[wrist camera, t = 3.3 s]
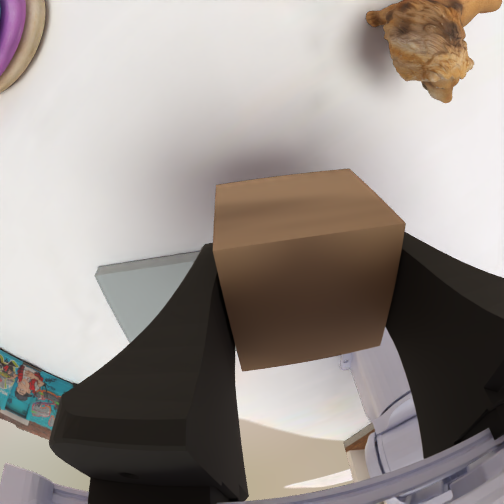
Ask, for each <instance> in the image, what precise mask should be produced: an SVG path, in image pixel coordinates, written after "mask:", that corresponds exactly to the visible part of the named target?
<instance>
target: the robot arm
mask: <svg viewBox="0 0 504 504" xmlns="http://www.w3.org/2000/svg"><path fill="white" fill-rule="evenodd" d="M345 360H347V361H345ZM340 369H341V370H346V369H350V370H351V372H352V375H353V378H354V381H355V384H356V387H357V390H358V393H359V396H360V399H361V402H362V405H363V408H364V411H365V413H366V416H367V417H368V419H369V420H370V421H371V422H372V423H373V425H374V429H375V432H373V433H371V434H370V435H369V437H368V440H367V443H366V446H365V460H366V465H367V469H368V472H369V475H370V478H369V479H366V480H362V481H359V482H355V483H352V484H348V485H344V486H340V487H335V488H331V489H326V490H322V491H317V492H312V493H306V494H300V495H295V496H288V497H282V498H273V499H264V500H255V501H245V500H246V499H247V498H248V496H249V495H248V489H247V482H246V475H245V468H244V462H243V453H242V446H241V437H240V428H239V419H238V410H237V400H236V389H235V342H234V338H233V334H232V330H231V326H230V322H229V318H228V314H227V310H226V305H225V301H224V297H223V293H222V289H221V285H220V280H219V276H218V272H217V267H216V263H215V259H214V254H213V243H209V244H205V245H204V246H203V247H202V249H201V251H200V253H199V254H198V256H197V258H196V260H195V261H194V263H193V265H192V266H191V268H190V270H189V271H188V273H187V274H186V276H185V278H184V279H183V281H182V282H181V284H180V285H179V287H178V288H177V290H176V291H175V292H174V294H173V295H172V297H171V298H170V299H169V301H168V302H167V303H166V305H165V306H164V307H163V309H162V310H161V311H160V312H159V314H158V315H157V316H156V317H155V318H154V319H153V320H152V322H151V323H150V324H149V325H148V326H147V327H146V328H145V329H144V330H143V331H142V332H141V333H140V334H139V335H138V336H137V337H136V338H135V339H134V340H133V341H132V342H131V343H130V344H129V345H128V346H127V347H126V348H124V349H123V350H122V351H121V352H120V353H119V354H118V355H116V356H115V357H114V358H113V359H112V360H110V361H109V362H108V363H107V364H105V365H104V366H103V367H102V368H100V369H99V370H98V371H96V372H95V373H94V374H92V375H91V376H89V377H88V378H86V379H85V380H84V381H82V382H81V383H79V384H78V385H76V386H75V387H73V388H72V389H70V390H69V391H67V392H65V393H64V394H62V396H61V399H60V402H59V406H58V409H57V413H56V416H55V420H54V424H53V428H52V432H51V436H50V440H49V445H50V448H51V449H52V451H53V452H54V453H55V454H56V455H57V456H58V457H59V458H61V459H62V460H63V461H65V462H66V463H68V464H69V465H71V466H73V467H74V468H76V469H77V470H79V471H81V472H82V473H84V474H86V475H87V476H89V477H91V479H90V486H89V492H88V491H83V490H79V489H74V488H70V487H66V486H62V485H58V484H54V483H53V482H52V481H50V480H49V479H47V478H45V477H43V476H41V475H39V474H37V473H35V472H33V471H30V470H27V469H24V468H21V467H18V466H15V465H12V464H10V463H5V465H4V469H3V474H2V479H1V484H0V504H376V503H379V502H382V501H386V503H387V504H504V278H502V277H499V276H496V275H493V274H490V273H488V272H485V271H483V270H480V269H478V268H475V267H473V266H471V265H468V264H466V263H464V262H461V261H459V260H457V259H455V258H453V257H451V256H449V255H447V254H445V253H443V252H441V251H439V250H437V249H435V248H433V247H432V246H430V245H428V244H426V243H424V242H422V241H420V240H419V239H417V238H415V237H413V236H411V235H410V234H408V233H406V232H404V237H403V244H402V250H401V256H400V261H399V267H398V272H397V277H396V282H395V287H394V292H393V296H392V301H391V305H390V309H389V314H388V318H387V322H386V326H385V330H384V333H383V337H382V341H381V344H380V346H377V347H373V348H369V349H365V350H360V351H356V352H352V353H347V354H342V356H341V362H340Z"/></svg>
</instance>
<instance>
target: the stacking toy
mask: <svg viewBox="0 0 504 504" xmlns="http://www.w3.org/2000/svg"><path fill="white" fill-rule="evenodd" d="M44 24H45V1H44V0H0V93H1V92H2V91H4V90H5V89H7V88H8V87H9V86H11V85H12V84H13V83H14V82H15V81H16V80H17V79H18V78H19V77H20V76H21V75H22V73H23V72H24V71H25V69H26V68H27V67H28V65H29V63H30V62H31V60H32V58H33V56H34V54H35V52H36V50H37V48H38V45H39V43H40V40H41V37H42V33H43V29H44Z"/></svg>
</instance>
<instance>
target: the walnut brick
mask: <svg viewBox="0 0 504 504" xmlns="http://www.w3.org/2000/svg"><path fill="white" fill-rule="evenodd" d="M405 224H406V223H405V222H404V221H403V220H402V219H401V218H400V217H399V216H398V215H397V214H396V213H395V212H394V211H393V210H392V209H391V208H390V207H389V206H388V205H387V204H386V203H385V202H384V201H383V200H382V199H381V198H380V197H379V196H378V195H377V194H376V193H375V192H374V191H373V190H372V189H371V188H370V187H369V186H368V185H367V184H365V183H364V182H363V181H362V180H361V179H360V178H359V177H358V176H357V175H356V174H355V173H354V172H352V171H351V170H350V169H340V170H330V171H319V172H310V173H301V174H292V175H284V176H276V177H268V178H261V179H253V180H246V181H239V182H233V183H226V184H220V185H216V195H215V213H214V233H213V254H214V259H215V263H216V267H217V272H218V276H219V280H220V285H221V289H222V293H223V297H224V301H225V305H226V310H227V314H228V318H229V322H230V326H231V330H232V334H233V338H234V342H235V346H236V350H237V353H238V357H239V361H240V365H241V369H242V371H249V370H257V369H264V368H271V367H278V366H284V365H290V364H296V363H302V362H307V361H313V360H318V359H323V358H328V357H333V356H338V355H342V354H347V353H352V352H356V351H360V350H365V349H369V348H373V347H377V346H380V344H381V341H382V337H383V333H384V330H385V326H386V322H387V318H388V314H389V309H390V305H391V301H392V296H393V292H394V287H395V282H396V277H397V272H398V267H399V261H400V256H401V250H402V244H403V237H404V231H405Z"/></svg>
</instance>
